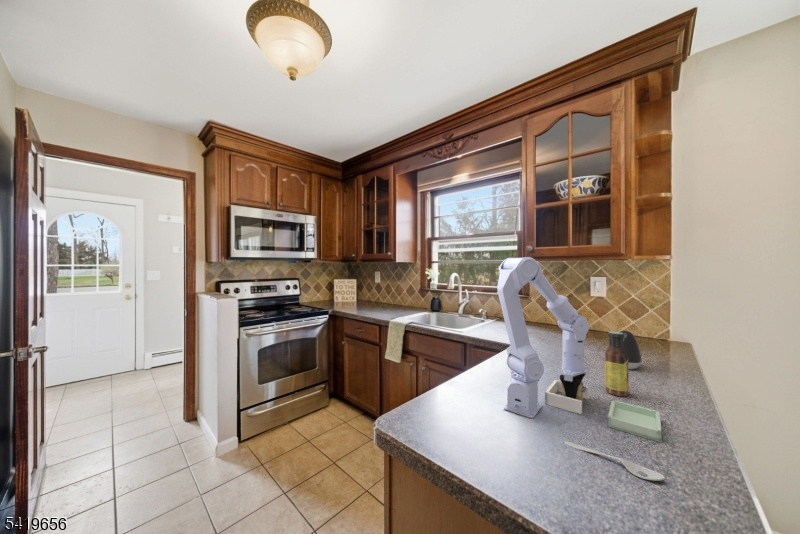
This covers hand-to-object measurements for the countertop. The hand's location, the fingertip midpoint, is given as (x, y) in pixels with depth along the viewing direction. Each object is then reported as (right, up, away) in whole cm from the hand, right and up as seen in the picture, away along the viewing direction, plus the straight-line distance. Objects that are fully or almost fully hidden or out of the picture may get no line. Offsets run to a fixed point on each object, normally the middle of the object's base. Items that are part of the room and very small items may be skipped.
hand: (572, 397), depth 89 cm
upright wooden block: (0, -1, 0) cm, 1 cm away
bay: (-1, -1, +1) cm, 2 cm away
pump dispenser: (+40, -2, +31) cm, 51 cm away
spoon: (-9, -2, -26) cm, 27 cm away
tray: (+9, -2, -12) cm, 15 cm away
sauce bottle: (+18, -2, +7) cm, 20 cm away
